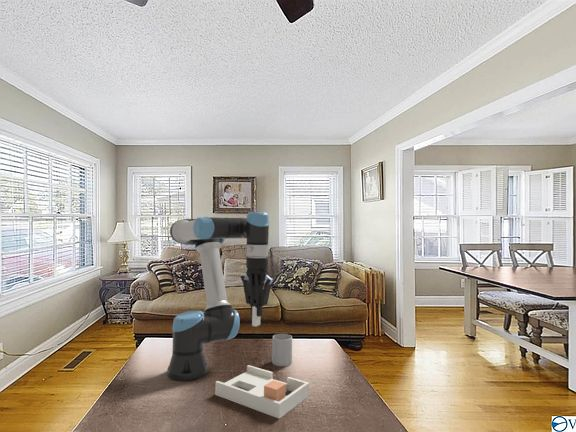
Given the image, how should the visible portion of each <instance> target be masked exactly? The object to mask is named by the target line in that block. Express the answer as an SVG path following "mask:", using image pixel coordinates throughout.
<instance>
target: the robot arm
mask: <svg viewBox="0 0 576 432" xmlns="http://www.w3.org/2000/svg"><path fill="white" fill-rule="evenodd" d="M269 225H270V221H269V214H268V212H263V211H259V212H257V211H251V212H248V213H247V215H246V217H217V216H216V217H215V216H213V217H212V216H211V217H209V216H202V217H201V216H200V217H197V218H182V219H179V220H176V221H174V222H173V223H172V224H171V226H170V228H169V236H170V238H171V239H172V240H173V241H174V242H175V243H178V244H180V245H186V246H194V247H195V251H197V252H198V253H199V256H200V258H199V259H200V263H201V264H200V265H201V271H202V279H203V285H204V293H205V300H206V307H205V308H204V310H203V311H202V310H198V309H195V310H187V311H184V312H181V313H179V314H177V315H176V316H175V317H174V318H173V321H172V322H173V323H172V354H171V358H170V362H169V365H168V366H167V372H166V373H167V377H168V378H169V379H171V380H173V381H182V382H184V381H192V380H197V379H199V378H202V377H204V376H205V375H206V374H207V373H208V365H207V362H206V357H205V354H204V344H211V343H216V342H222V341H227V340H231V339H234V338H235V337H236V336H237V335H238V333H239V329H240V325H241V323H240V320H241V319H240V315H239V312H238V310H236V309H234V308H233V306H232V303H230V302H228V297H227V291H226V285H225V278H224V273H223V272H224V271H223V265H222V260H221V259H222V258H221V255H220V249H221V248H222V246H223V245H222V244H224V242H225V239H246V256H247V257H246V259H245V260H246V261H245V263H246V264H245V266H246V271H245V274H243V275H241V276H240V279H241V282H242V286H243V291H244V298H245V299H244V300H245V303H246V304H247V305H249V306H250V316H251V321H252V322H251V326H252V327H255V328H256V327H258V326H261V317H262V315H263V306H267V305H268V302H269V298H270V293H271V288H272V284H273V283H274V282H275V280H274V278H273V277H270V276H269V273H268V268H269V258H268V256H269V237H270V236H269V234H270V233H269V231H270V230H269V229H270V227H269Z"/></svg>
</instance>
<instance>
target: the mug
mask: <svg viewBox="0 0 576 432" xmlns="http://www.w3.org/2000/svg"><path fill="white" fill-rule="evenodd" d="M271 347H272V348H271V349H272V351H271V352H272V357H271V359H272V360H271V362H272V364H273V365H274V366H276V367H287V366H291V365H292V363H293V336H292V335H291V334H287V333H279V334H278V333H277V334H274V335H272V346H271Z"/></svg>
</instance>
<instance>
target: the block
mask: <svg viewBox="0 0 576 432" xmlns="http://www.w3.org/2000/svg"><path fill="white" fill-rule="evenodd" d="M274 380H275V379H274ZM274 380H273V381H271V382H269V383H268V384H266V385H264V397H266V398H269V399H272V400H275V401H278V402H279V401H281V400H282V399H284V398H285V391H286V384H284V383H285V382H284V383H281V382H282V381H281V382H277V381H274Z"/></svg>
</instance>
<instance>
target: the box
mask: <svg viewBox="0 0 576 432" xmlns="http://www.w3.org/2000/svg"><path fill="white" fill-rule="evenodd" d="M273 377H274V372H273V371H270V370H267V369H263V368H259V367H256V366H253V365H250V364H248V365H246V371H245V372H243V373H241V374H239V375H237V376H234V377H233V378H231V379H229V380H227V381H225V382H223V381H219V380H215V387H214V388H215V390H214V391H215V392H214V394H215V396H217V397H220V398H222V399H226V400H229V401H230V402H234V403H237V404H239V405H241V406H244V407H246V408H249V409H252V410H255V411H257V412H260V413H262V414H265V415H269V416H270V417H273V418H276V419H281V418H283V417H284V416H285V415H287V414H288V413H289V412H291V410H293V409H294V408H296V407H297V406H298V405H299V404H300V403H302V402H303V401H304V400H306V399H307V398H308V397H310V382H307V381H304V380H302V379H297V378H294V377H291V376H288V377H287V378H286V382H284V381H281V380H277V379H274V378H273ZM273 380H274V381H277V382H281V383H284V384H286V391H285V398H284V399H282V400H281V401H279V402H278V401H275V400H272V399H269V398H266V397H264V385H266V384H268V383H269V382H271V381H273Z"/></svg>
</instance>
